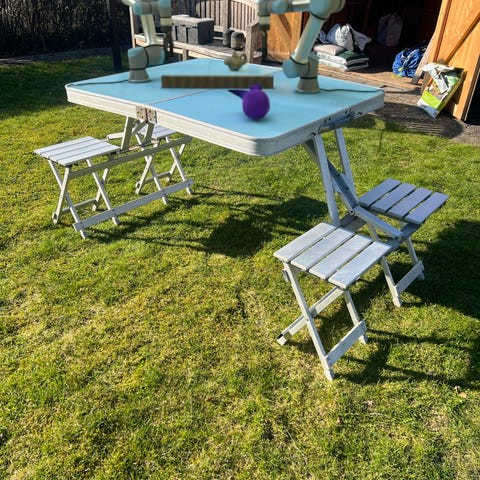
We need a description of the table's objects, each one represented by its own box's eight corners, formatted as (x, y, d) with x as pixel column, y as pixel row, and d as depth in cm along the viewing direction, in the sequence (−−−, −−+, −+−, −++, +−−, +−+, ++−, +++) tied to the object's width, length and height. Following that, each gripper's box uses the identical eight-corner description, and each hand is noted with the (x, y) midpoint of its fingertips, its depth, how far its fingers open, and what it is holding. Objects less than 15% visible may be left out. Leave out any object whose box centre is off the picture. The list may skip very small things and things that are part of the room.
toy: (252, 108, 261) (269, 126, 240) (224, 103, 254) (239, 121, 233) (259, 81, 253) (278, 97, 232) (231, 75, 246) (247, 91, 225)
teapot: (227, 73, 361) (227, 53, 353) (221, 70, 369) (220, 51, 362) (250, 70, 370) (250, 50, 362) (243, 68, 378) (242, 49, 371)
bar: (162, 88, 316) (160, 76, 312) (164, 86, 321) (163, 74, 317) (273, 88, 308) (273, 77, 304) (273, 87, 312) (273, 75, 308)
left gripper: (167, 27, 286) (170, 62, 298) (176, 22, 308) (179, 55, 319) (155, 27, 287) (159, 62, 298) (165, 22, 308) (168, 55, 319)
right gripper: (269, 25, 279) (269, 61, 290) (271, 22, 301) (271, 56, 311) (257, 25, 280) (257, 61, 290) (260, 22, 301) (260, 56, 312)
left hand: (169, 59), depth 309 cm, fingers open, 13 cm apart
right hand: (264, 58), depth 301 cm, fingers open, 13 cm apart
